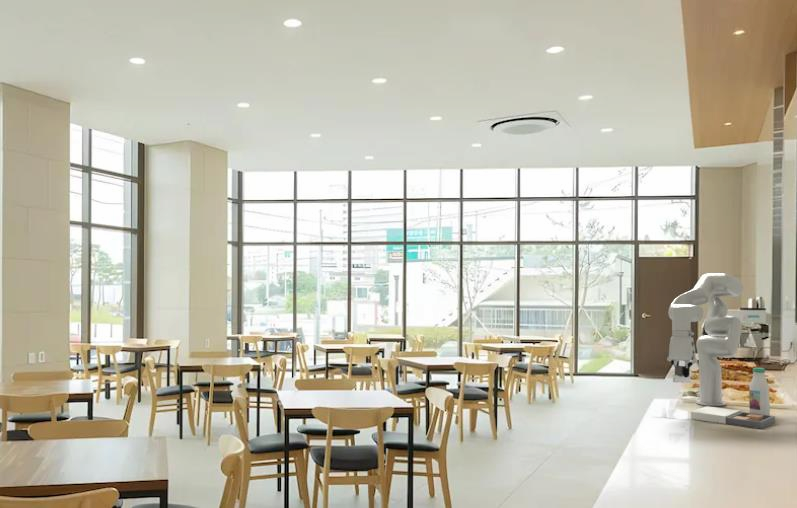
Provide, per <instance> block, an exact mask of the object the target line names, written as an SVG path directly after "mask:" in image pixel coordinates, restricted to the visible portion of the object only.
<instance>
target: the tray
mask: <svg viewBox="0 0 797 508" xmlns="http://www.w3.org/2000/svg"><path fill="white" fill-rule="evenodd" d="M749 414H754V413H750V412H744V411H740V413H737V414H735V415H732V416H730V417H727V423H726V424H727V425H731V426H740V427H747V428H754V429H759V430H761V429H764V428H766V427H768V426H771V425H772V424H775V423H776V416H775V415H771V414H770V415H763V416H764V420H762V421H759V422H758V421H751V420H744V419H736V418H733V417H736V416H741V417H746V416H747V415H749ZM756 415H762V414H756Z"/></svg>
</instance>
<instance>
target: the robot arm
mask: <svg viewBox="0 0 797 508" xmlns="http://www.w3.org/2000/svg"><path fill="white" fill-rule="evenodd" d="M743 290H744V287H743V283H742V281H741V280H740V279H739V278H738V277H735V276H734V275H731V274H728V273H724V272H723V273H721V272H720V273H704V274H702V275H701V276H700V277H699V279H698V280H697V282H696V283H695V285H694V287H693V288H692V289H691V290H688V291H686V292H684V293H682V294H680V295H678V296H676V297H675V298H674V299H673V301H672V302H671V304H670V305H669V308H668V313H667V314H668V317H669V319H670V320H671V325H672V326H671V332H672V333H671V337H670V340H669V341H670V342H669V346H668V347H669V349H668V356H667V357H666V360H667V362H669V363H671V364H672V365H673V367H674V368H675V366H680V361H683V362H684V366H685V368H684V377H689V376H690V374H689V368H690V369H691V367H692V366H693V365H695V364H697V363H698V377H699V378H698V379H699V380H698V381H699V382H698V383H699V385H698V387H699V391H698V392H699V399H696V400H695V403H696V404H697V405H700V406H705V407H706V406H709V407H723V406H726V405H727V403H726V401H724V400H723V398H724V393H723V389H722V388H723V386H722V385H723V384H722V383H723V382H722V365H721V362H720V361H719V359H718V358H729V359H730V358H734V357H735V356H736V355H737V353H738V349H739V344H740V340H741V336H742V329H743V328H742V327H743V326H742V325H743V324H742V320H741V319H740V317H737V316H734V315H728V313H729V307H728V305H727V304H726V302H725V301H724V299H722V298H723V297H726V298H727V297H728V298H729V297H731V298H732V297H733V298H734V297H735V298H736V297H739V296H740V295H742V293H743ZM705 304H707V305H708V308H707V313H706V317H705V322H704V332H705V333H706V334H707V335H701V336H699V337H698V338H697V340H696V345H695V340H694V337H692V336H694V335H695V333H694V331H692V329H691V328H692V325H691V324H692V323H697V322H700V321H701V320H702V319H703V317H704V310H703V308H702V307H701V305H705ZM695 346H696V347H695ZM696 350H697V351H696ZM696 352H697V357H698V360H697V357H696Z"/></svg>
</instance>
